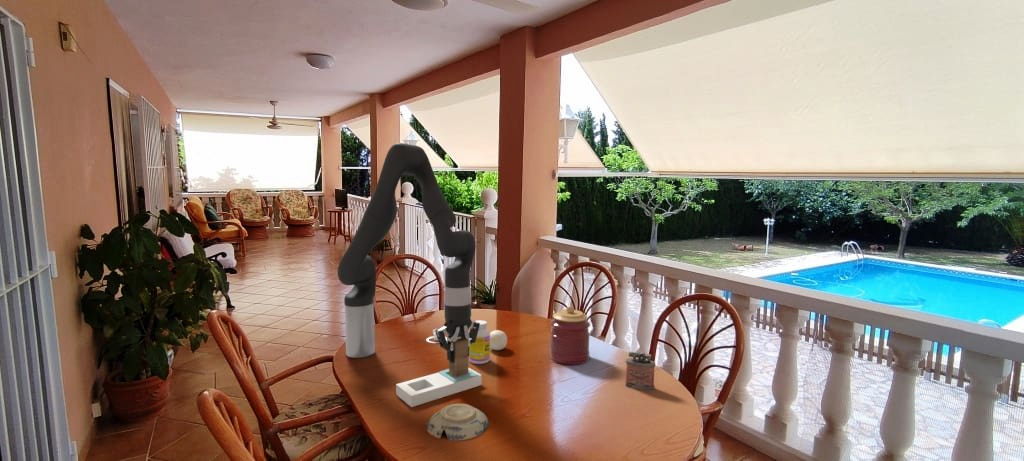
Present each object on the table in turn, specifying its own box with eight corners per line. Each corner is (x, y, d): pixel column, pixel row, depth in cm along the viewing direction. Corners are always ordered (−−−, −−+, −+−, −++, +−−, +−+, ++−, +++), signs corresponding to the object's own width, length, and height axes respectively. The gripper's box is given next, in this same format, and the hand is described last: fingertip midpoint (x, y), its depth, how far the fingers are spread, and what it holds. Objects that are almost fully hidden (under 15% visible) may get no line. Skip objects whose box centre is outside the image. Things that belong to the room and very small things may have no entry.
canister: (570, 368, 149) (571, 313, 147) (541, 357, 158) (542, 305, 157) (597, 358, 157) (598, 306, 155) (567, 348, 167) (568, 298, 165)
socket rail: (396, 394, 130) (396, 383, 130) (464, 374, 143) (464, 364, 143) (411, 407, 123) (411, 395, 123) (481, 384, 136) (481, 374, 136)
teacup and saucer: (438, 335, 181) (438, 324, 181) (454, 339, 177) (454, 328, 176) (421, 341, 174) (421, 330, 174) (437, 345, 170) (437, 334, 169)
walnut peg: (449, 372, 137) (448, 338, 136) (460, 369, 139) (460, 335, 138) (456, 376, 134) (456, 342, 133) (468, 373, 136) (468, 339, 135)
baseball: (511, 347, 167) (511, 329, 166) (500, 354, 161) (501, 335, 160) (494, 344, 170) (494, 326, 170) (483, 350, 164) (483, 331, 163)
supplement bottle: (486, 365, 151) (486, 326, 149) (466, 363, 152) (466, 324, 151) (491, 357, 157) (491, 320, 156) (472, 356, 159) (472, 318, 157)
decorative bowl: (491, 411, 122) (433, 409, 122) (491, 397, 121) (433, 395, 122) (486, 444, 107) (419, 441, 108) (486, 428, 107) (419, 426, 107)
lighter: (654, 386, 136) (655, 352, 135) (654, 391, 133) (655, 356, 132) (625, 382, 139) (626, 349, 138) (624, 386, 136) (625, 352, 135)
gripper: (471, 295, 142) (471, 351, 143) (428, 302, 133) (429, 362, 135) (486, 300, 136) (486, 358, 138) (442, 308, 127) (443, 370, 129)
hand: (458, 360), depth 136 cm, fingers closed on walnut peg, 4 cm apart
